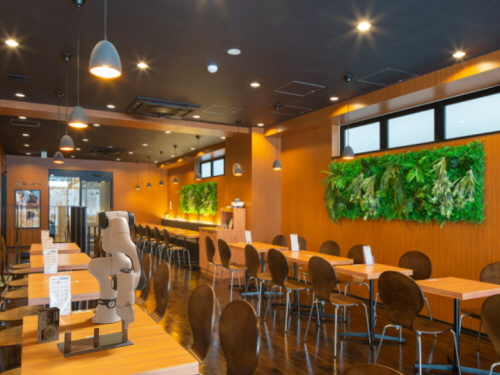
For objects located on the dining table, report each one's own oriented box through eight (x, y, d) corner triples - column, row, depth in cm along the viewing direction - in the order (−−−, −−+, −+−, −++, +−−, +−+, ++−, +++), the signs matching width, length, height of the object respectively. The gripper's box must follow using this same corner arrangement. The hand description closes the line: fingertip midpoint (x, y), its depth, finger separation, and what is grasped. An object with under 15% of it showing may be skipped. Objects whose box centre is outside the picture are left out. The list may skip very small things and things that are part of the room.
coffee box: (55, 336, 207) (56, 306, 209) (59, 339, 203) (60, 308, 204) (36, 340, 201) (37, 309, 202) (40, 343, 197) (41, 311, 198)
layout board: (56, 344, 196) (57, 343, 196) (120, 333, 214) (120, 332, 215) (64, 357, 178) (64, 356, 178) (133, 344, 196) (133, 343, 196)
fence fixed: (63, 352, 184) (64, 332, 184) (97, 345, 193) (98, 327, 193) (64, 354, 181) (65, 334, 182) (99, 347, 190) (99, 328, 191)
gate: (98, 345, 193) (99, 324, 194) (126, 340, 201) (127, 320, 202) (100, 346, 191) (101, 326, 191) (128, 341, 198) (128, 321, 199)
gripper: (138, 303, 193) (137, 331, 193) (125, 296, 210) (125, 322, 209) (125, 305, 190) (124, 334, 189) (113, 297, 207) (113, 323, 206)
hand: (124, 327), depth 199 cm, fingers closed on gate, 3 cm apart
